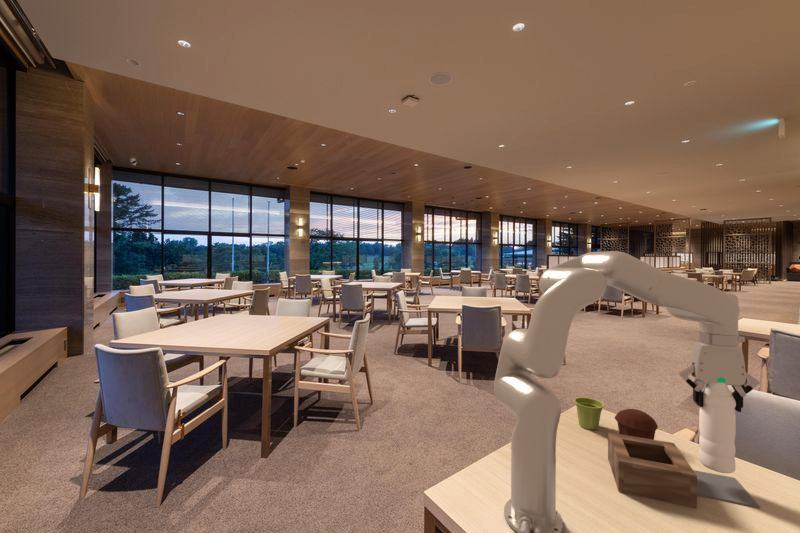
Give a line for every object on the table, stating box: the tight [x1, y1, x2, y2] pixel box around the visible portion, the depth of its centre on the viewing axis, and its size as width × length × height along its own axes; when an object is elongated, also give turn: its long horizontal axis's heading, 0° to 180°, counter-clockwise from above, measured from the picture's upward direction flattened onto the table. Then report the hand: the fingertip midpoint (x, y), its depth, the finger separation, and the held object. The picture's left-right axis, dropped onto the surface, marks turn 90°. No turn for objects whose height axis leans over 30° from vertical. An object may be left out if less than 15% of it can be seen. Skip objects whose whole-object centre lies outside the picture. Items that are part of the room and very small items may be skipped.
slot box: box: [607, 431, 698, 510], centre depth 92 cm, size 16×16×8 cm
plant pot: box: [573, 396, 605, 431], centre depth 123 cm, size 9×9×9 cm
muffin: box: [614, 408, 658, 440], centre depth 113 cm, size 12×11×10 cm
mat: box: [693, 469, 761, 509], centre depth 90 cm, size 12×12×1 cm
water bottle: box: [698, 377, 737, 474], centre depth 90 cm, size 7×7×25 cm
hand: (717, 406), depth 90 cm, fingers closed on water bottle, 7 cm apart
